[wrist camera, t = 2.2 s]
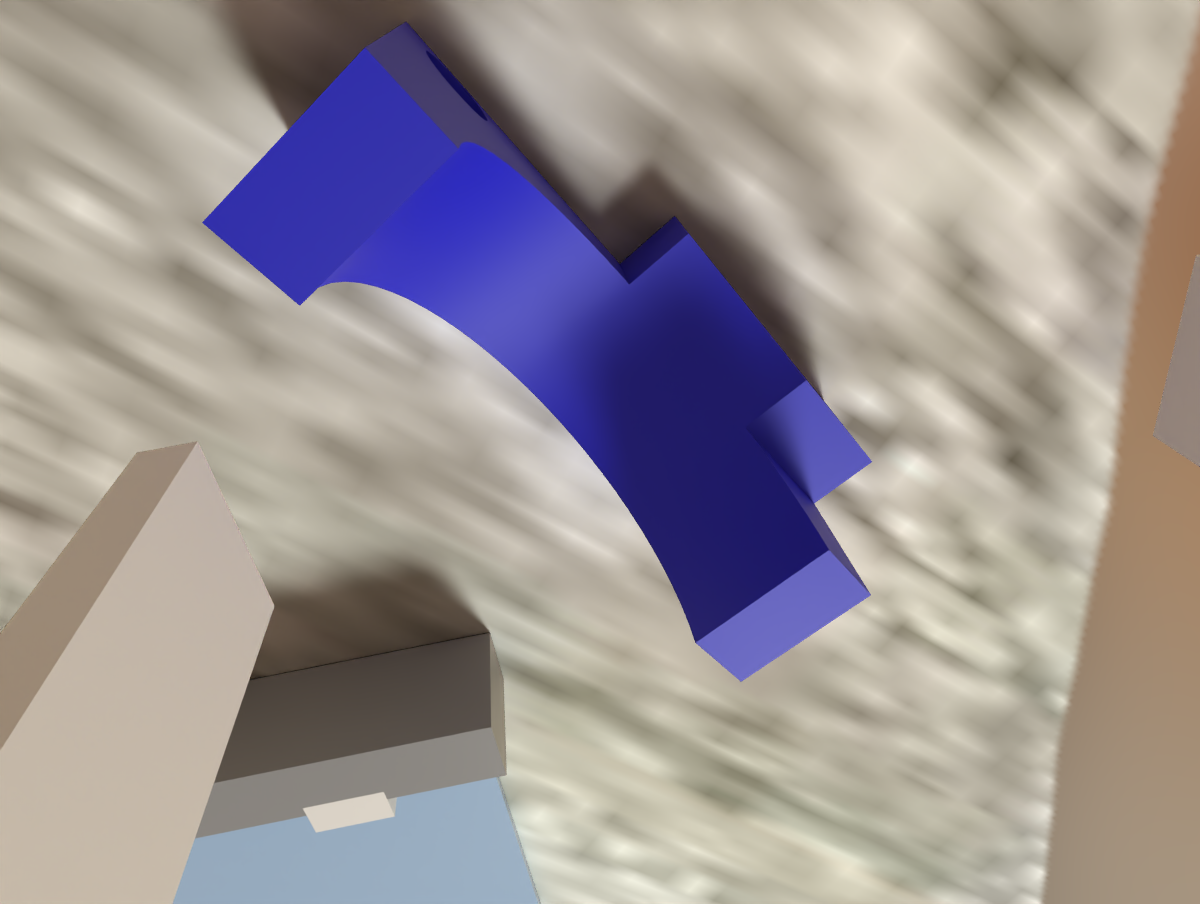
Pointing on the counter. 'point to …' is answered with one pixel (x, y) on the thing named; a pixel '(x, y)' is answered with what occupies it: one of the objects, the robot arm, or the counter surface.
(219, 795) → the blue panel with rails
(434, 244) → the cable clip
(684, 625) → the counter surface
